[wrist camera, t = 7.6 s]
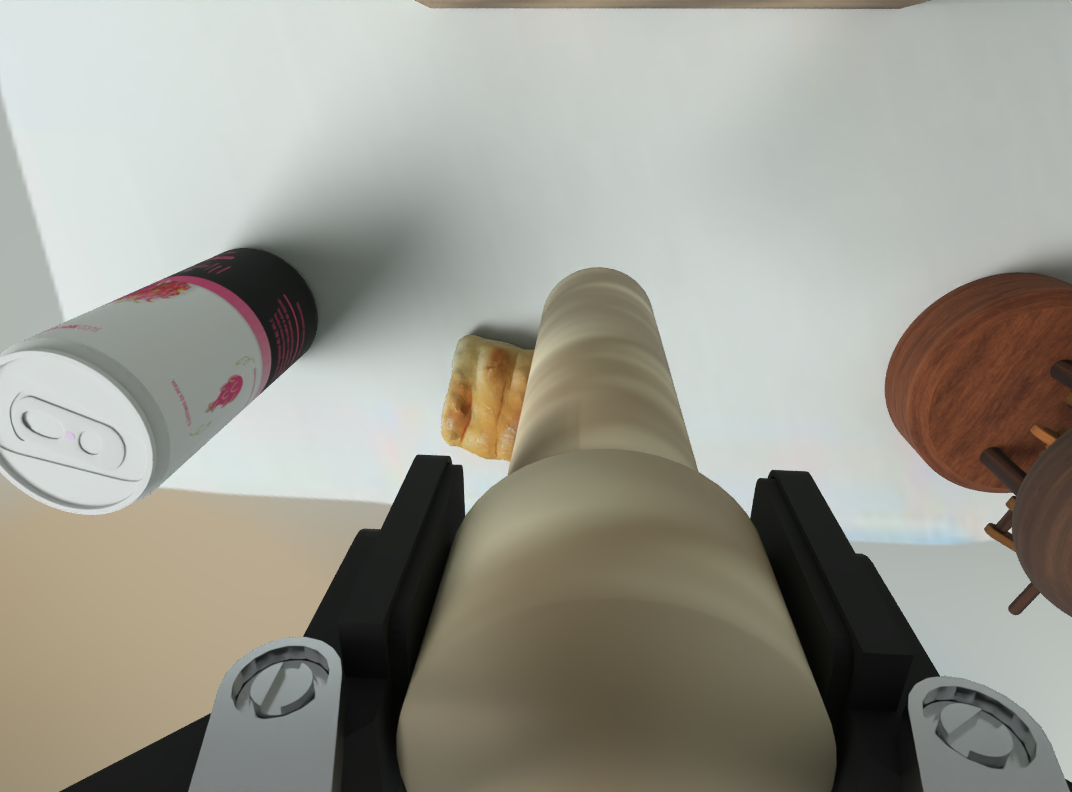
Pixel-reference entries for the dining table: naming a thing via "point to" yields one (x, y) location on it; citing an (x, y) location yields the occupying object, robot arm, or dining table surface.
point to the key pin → (609, 597)
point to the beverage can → (147, 379)
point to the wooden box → (672, 4)
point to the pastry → (485, 396)
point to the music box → (998, 412)
